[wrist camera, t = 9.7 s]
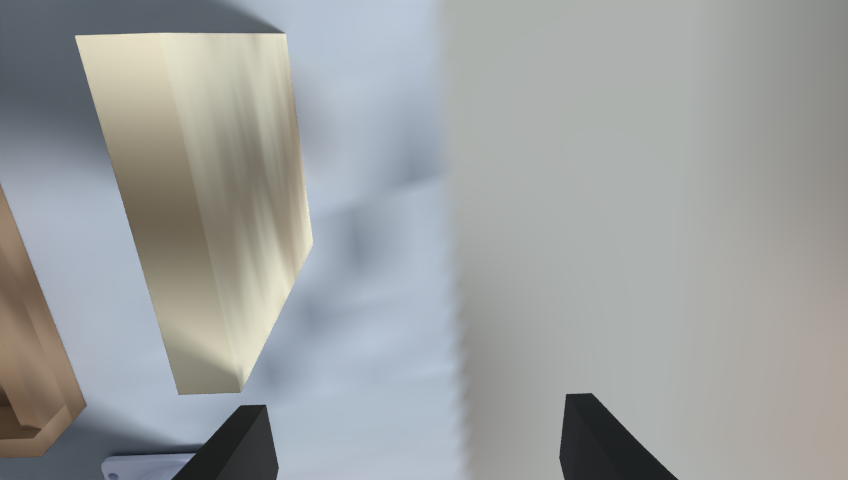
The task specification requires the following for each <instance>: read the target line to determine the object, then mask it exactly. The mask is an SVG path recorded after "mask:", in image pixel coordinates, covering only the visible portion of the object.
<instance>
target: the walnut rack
mask: <svg viewBox="0 0 848 480" xmlns="http://www.w3.org/2000/svg"><path fill="white" fill-rule="evenodd" d="M85 407H86V403H85V401H84V398H83V395H82V393H81V390H80V388H79V385H78V383H77V380H76V378H75V375H74V372H73V370H72V367H71V365H70V362H69V360H68V357H67V354H66V352H65V349H64V347H63V344H62V342H61V339H60V336H59V334H58V331H57V329H56V326H55V324H54V321H53V318H52V316H51V313H50V311H49V308H48V306H47V303H46V300H45V298H44V295H43V293H42V290H41V288H40V285H39V282H38V280H37V277H36V275H35V272H34V270H33V267H32V264H31V262H30V259H29V257H28V254H27V252H26V249H25V246H24V244H23V241H22V239H21V236H20V234H19V231H18V228H17V226H16V223H15V221H14V218H13V216H12V213H11V211H10V208H9V205H8V203H7V200H6V198H5V195H4V193H3V190H2V187H1V185H0V458H14V457H42V456H43V454H44V453H45V452H46V451H47V450H48V449H49V448H50V447H51V445H52V444H53V443H54V442H55V441H56V440H57V439H58V437H59V436H60V435H61V434H62V433H63V432H64V431H65V430H66V428H67V427H68V426H69V425H70V424H71V423H72V422H73V421H74V419H75V418H76V417H77V416H78V415H79V414H80V413H81V411H82V410H83V409H84V408H85Z"/></svg>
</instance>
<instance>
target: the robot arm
mask: <svg viewBox="0 0 848 480" xmlns="http://www.w3.org/2000/svg"><path fill="white" fill-rule="evenodd" d="M559 458H560V462H561V467H562V471H563V475H564V479H565V480H678V479H677V478H676V477H675V476H674V475H673V474H671V473H670V472H669V471H668V470H667V469H666V468H665V467H664V466H663V465H662V464H661V463H660V462H659V461H658V460H657V459H656V458H655V457H654V456H653V455H652V454H651V453H649V451H647V450H646V449H645V448H644V447H643V446H642V445H641V444H640V443H639V442H638V441H637V440H636V439H635V438H634V437H633V436H632V435H631V434H630V433H629V431H628V430H626V428H625V427H624V426H623V425H622V424H621V423H620V422H619V421H618V420H617V419H616V418H615V417H614V416H613V415H612V414H611V413H610V412H609V411H608V410H607V408H605V407H604V406H603V404H602V403H601V402H600V401H599V400H598V399H597V398H596V397H595V396H594V395H593V394H592V393H586V394H567V395H566V401H565V411H564V419H563V428H562V437H561V447H560V457H559ZM278 468H279V467H278V462H277V457H276V452H275V447H274V442H273V437H272V432H271V427H270V422H269V417H268V412H267V408H266V405H242V406H240V407H239V408H238V409H237V410H236V411H235V412H234V413H233V414H232V415H231V416H230V417H229V418H228V419H227V420H226V421H225V423H224V424H223V425H222V426H221V427H220V428H219V429H218V430H217V431H216V432H215V433H214V435H213V436H212V437H211V438H210V439H209V440H208V441H207V442H206V443H205V444H204V445H203V446H202V448H201V449H200V450H199V451H198V452H197V453H191V454H163V455H135V456H111V457H108V458H106V459H105V460H104V462H103V463H102V465H101V470H102V473H103V475H104V478H105V480H276V478H277V473H278Z"/></svg>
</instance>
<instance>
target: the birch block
mask: <svg viewBox="0 0 848 480" xmlns="http://www.w3.org/2000/svg"><path fill="white" fill-rule="evenodd" d="M75 38H76V42H77V45H78V49H79V52H80V56H81V59H82V63H83V66H84V70H85V73H86V76H87V80H88V83H89V87H90V90H91V94H92V97H93V101H94V104H95V107H96V111H97V114H98V118H99V121H100V125H101V128H102V132H103V135H104V139H105V142H106V145H107V149H108V152H109V156H110V159H111V163H112V166H113V170H114V173H115V177H116V180H117V183H118V187H119V190H120V194H121V197H122V201H123V204H124V208H125V211H126V214H127V218H128V221H129V225H130V228H131V232H132V235H133V239H134V242H135V246H136V249H137V252H138V256H139V259H140V263H141V266H142V270H143V273H144V277H145V280H146V284H147V287H148V290H149V294H150V297H151V301H152V304H153V308H154V311H155V315H156V318H157V321H158V325H159V328H160V332H161V335H162V339H163V342H164V346H165V349H166V353H167V356H168V359H169V363H170V366H171V370H172V373H173V377H174V380H175V384H176V387H177V391H178V394H179V395H187V394H215V393H241V391H242V389H243V387H244V385H245V383H246V381H247V379H248V377H249V375H250V373H251V371H252V369H253V367H254V364H255V362H256V360H257V358H258V356H259V354H260V352H261V350H262V348H263V346H264V344H265V342H266V340H267V338H268V336H269V334H270V332H271V330H272V328H273V325H274V323H275V321H276V319H277V317H278V315H279V313H280V311H281V309H282V307H283V305H284V303H285V301H286V299H287V297H288V295H289V293H290V291H291V289H292V286H293V284H294V282H295V280H296V278H297V276H298V274H299V272H300V270H301V268H302V266H303V264H304V262H305V260H306V258H307V256H308V254H309V252H310V250H311V247H312V245H313V238H312V231H311V223H310V215H309V208H308V200H307V192H306V185H305V177H304V170H303V162H302V154H301V147H300V139H299V131H298V124H297V116H296V108H295V101H294V93H293V86H292V78H291V70H290V63H289V55H288V47H287V40H286V34H274V33H140V34H109V35H77V36H75Z"/></svg>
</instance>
